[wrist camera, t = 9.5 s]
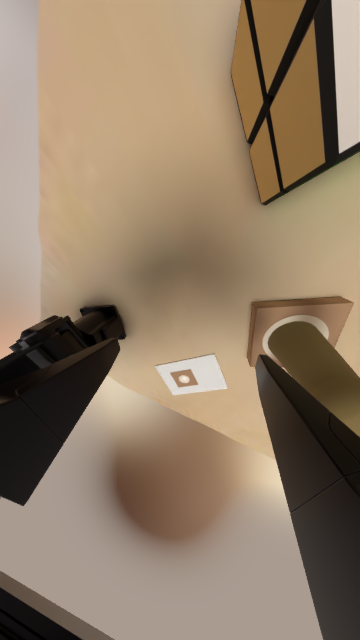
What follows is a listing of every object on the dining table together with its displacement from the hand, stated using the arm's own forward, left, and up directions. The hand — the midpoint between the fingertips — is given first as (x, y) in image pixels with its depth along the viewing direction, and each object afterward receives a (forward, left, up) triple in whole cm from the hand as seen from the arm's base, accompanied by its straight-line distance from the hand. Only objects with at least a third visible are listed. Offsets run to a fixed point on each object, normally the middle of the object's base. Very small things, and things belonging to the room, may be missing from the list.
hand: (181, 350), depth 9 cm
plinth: (+13, -8, -13) cm, 20 cm away
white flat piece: (-2, -18, -13) cm, 22 cm away
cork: (+12, -8, -11) cm, 18 cm away
